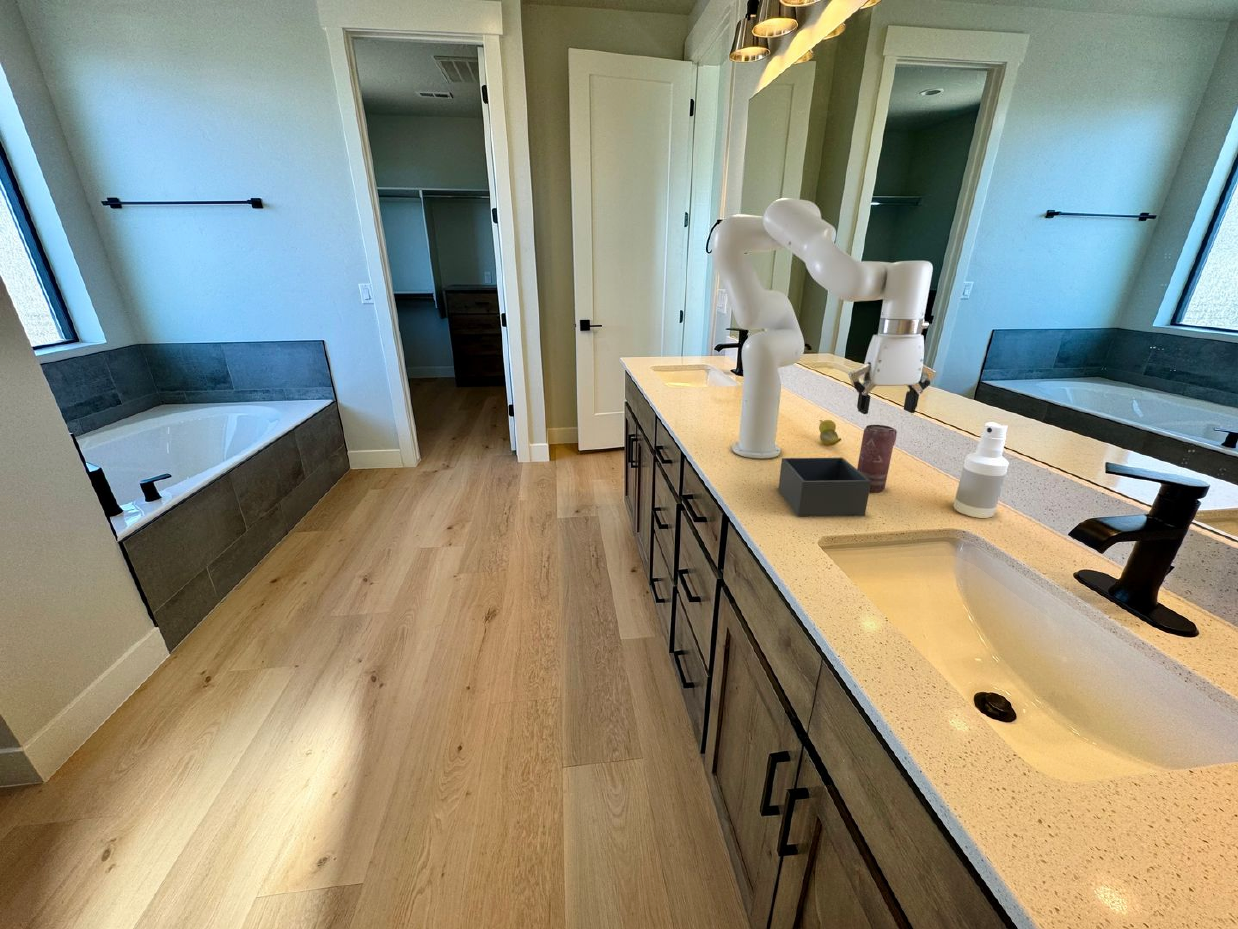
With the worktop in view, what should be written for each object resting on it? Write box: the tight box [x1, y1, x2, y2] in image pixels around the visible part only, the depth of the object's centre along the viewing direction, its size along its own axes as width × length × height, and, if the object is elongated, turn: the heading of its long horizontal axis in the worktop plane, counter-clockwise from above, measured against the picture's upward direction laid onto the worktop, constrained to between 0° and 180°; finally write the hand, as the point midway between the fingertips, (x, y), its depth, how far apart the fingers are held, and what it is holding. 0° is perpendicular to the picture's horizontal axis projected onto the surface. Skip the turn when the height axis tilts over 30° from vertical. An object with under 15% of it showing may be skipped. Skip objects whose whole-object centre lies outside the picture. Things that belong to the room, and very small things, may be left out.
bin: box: [778, 456, 871, 518], centre depth 102 cm, size 13×13×8 cm
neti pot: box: [818, 419, 842, 446], centre depth 137 cm, size 4×15×6 cm, turn 0°
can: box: [856, 424, 898, 494], centre depth 107 cm, size 6×6×14 cm
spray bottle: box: [952, 421, 1010, 519], centre depth 95 cm, size 7×7×18 cm
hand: (885, 412), depth 103 cm, fingers open, 9 cm apart
